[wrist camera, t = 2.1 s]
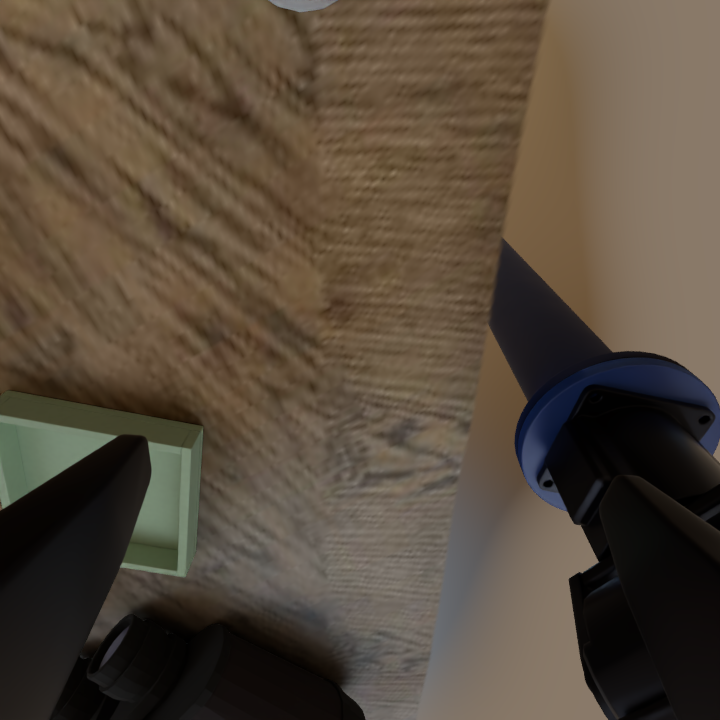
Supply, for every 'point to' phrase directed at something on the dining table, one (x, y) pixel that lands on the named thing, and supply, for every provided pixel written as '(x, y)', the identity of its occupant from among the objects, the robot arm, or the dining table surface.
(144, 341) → the dining table surface
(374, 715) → the dining table surface
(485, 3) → the dining table surface
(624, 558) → the robot arm
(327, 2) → the chalice
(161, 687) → the binoculars
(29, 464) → the base pad
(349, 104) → the dining table surface
